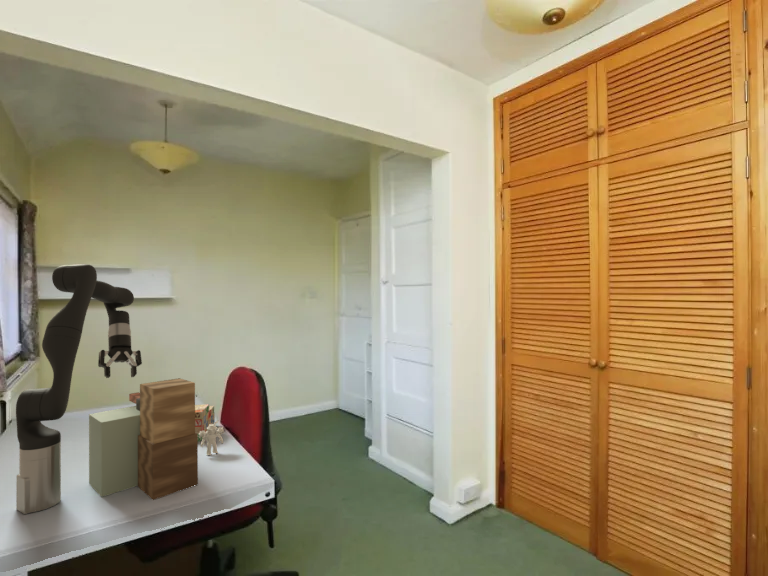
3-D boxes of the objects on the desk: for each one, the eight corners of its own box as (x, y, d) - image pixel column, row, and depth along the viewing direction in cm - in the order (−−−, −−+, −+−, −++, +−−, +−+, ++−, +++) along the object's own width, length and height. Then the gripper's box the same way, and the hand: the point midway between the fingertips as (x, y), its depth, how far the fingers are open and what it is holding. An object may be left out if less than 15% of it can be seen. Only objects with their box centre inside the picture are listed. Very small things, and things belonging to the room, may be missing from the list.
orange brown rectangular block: (121, 402, 151) (121, 392, 151) (145, 397, 157) (145, 388, 157) (144, 413, 135) (144, 402, 135) (170, 408, 141) (170, 397, 141)
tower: (137, 486, 131) (137, 384, 132) (180, 473, 141) (180, 377, 142) (153, 500, 123) (152, 389, 123) (197, 484, 132) (197, 382, 133)
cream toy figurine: (222, 449, 163) (222, 418, 163) (225, 452, 160) (225, 420, 160) (197, 455, 157) (197, 423, 158) (200, 458, 154) (200, 425, 154)
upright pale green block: (89, 483, 134) (89, 414, 135) (168, 461, 152) (167, 399, 153) (101, 496, 125) (101, 422, 126) (184, 471, 143) (183, 406, 143)
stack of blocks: (200, 426, 194) (200, 399, 194) (214, 425, 194) (214, 399, 195) (185, 442, 172) (185, 412, 173) (202, 441, 173) (201, 411, 174)
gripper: (102, 332, 158) (103, 374, 152) (143, 334, 169) (145, 373, 163) (95, 339, 162) (95, 380, 156) (135, 340, 173) (137, 379, 167)
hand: (121, 377), depth 160 cm, fingers open, 8 cm apart
